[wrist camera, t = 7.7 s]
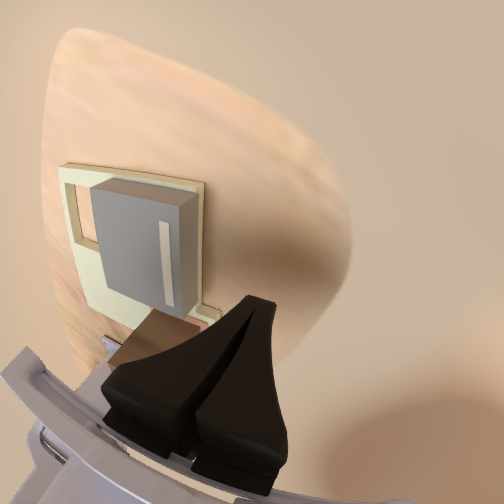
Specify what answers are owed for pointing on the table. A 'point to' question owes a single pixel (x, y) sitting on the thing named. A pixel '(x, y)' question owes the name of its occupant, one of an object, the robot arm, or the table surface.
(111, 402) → the robot arm
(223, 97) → the table surface
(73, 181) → the puzzle board
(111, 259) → the sliding cover
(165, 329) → the walnut block
